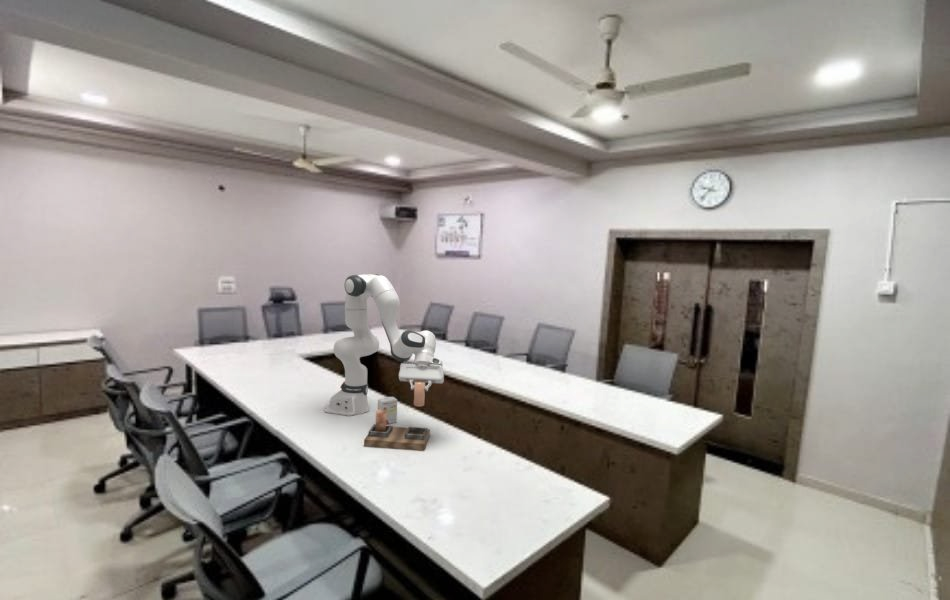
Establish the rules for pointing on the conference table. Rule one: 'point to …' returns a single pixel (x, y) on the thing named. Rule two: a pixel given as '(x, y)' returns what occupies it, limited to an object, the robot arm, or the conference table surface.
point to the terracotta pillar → (419, 393)
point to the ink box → (389, 408)
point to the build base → (395, 435)
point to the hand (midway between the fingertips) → (419, 390)
